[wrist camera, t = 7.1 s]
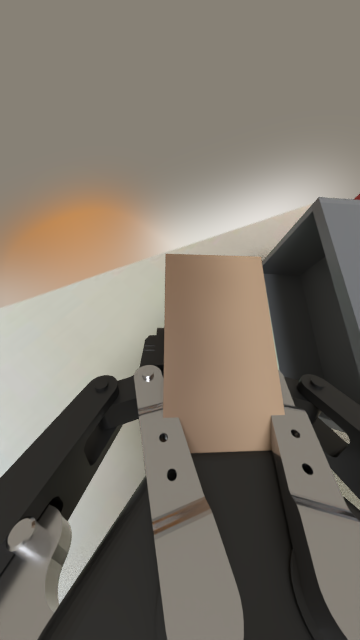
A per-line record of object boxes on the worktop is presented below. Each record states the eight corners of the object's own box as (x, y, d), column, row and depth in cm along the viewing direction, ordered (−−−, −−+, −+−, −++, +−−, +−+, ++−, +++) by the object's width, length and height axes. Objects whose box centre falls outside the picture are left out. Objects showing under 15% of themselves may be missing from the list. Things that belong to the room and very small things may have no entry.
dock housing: (299, 273, 33) (397, 202, 19) (330, 406, 27) (508, 443, 13) (225, 271, 32) (272, 194, 18) (239, 409, 26) (327, 453, 12)
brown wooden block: (209, 320, 17) (261, 256, 8) (213, 400, 15) (290, 449, 6) (167, 320, 17) (165, 253, 7) (166, 401, 15) (162, 454, 5)
